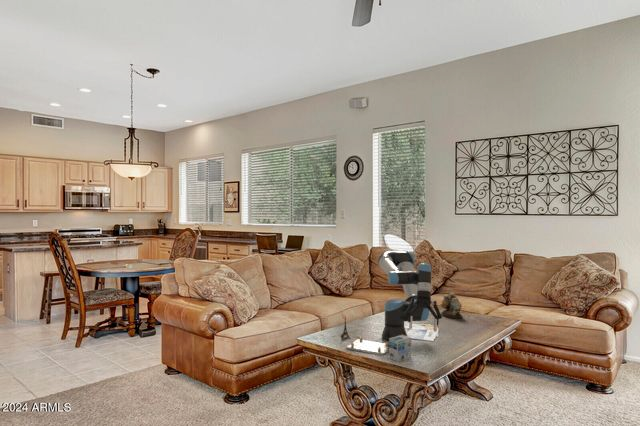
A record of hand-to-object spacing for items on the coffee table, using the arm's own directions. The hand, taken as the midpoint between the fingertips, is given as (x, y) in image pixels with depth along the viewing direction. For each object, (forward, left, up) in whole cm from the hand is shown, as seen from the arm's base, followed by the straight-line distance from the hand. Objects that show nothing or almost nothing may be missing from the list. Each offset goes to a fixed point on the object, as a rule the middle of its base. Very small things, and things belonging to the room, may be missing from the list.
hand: (422, 330), depth 237 cm
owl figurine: (-78, +40, -13) cm, 88 cm away
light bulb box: (+6, -14, -13) cm, 20 cm away
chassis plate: (-10, -28, -13) cm, 32 cm away
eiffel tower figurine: (-30, -40, -13) cm, 51 cm away
